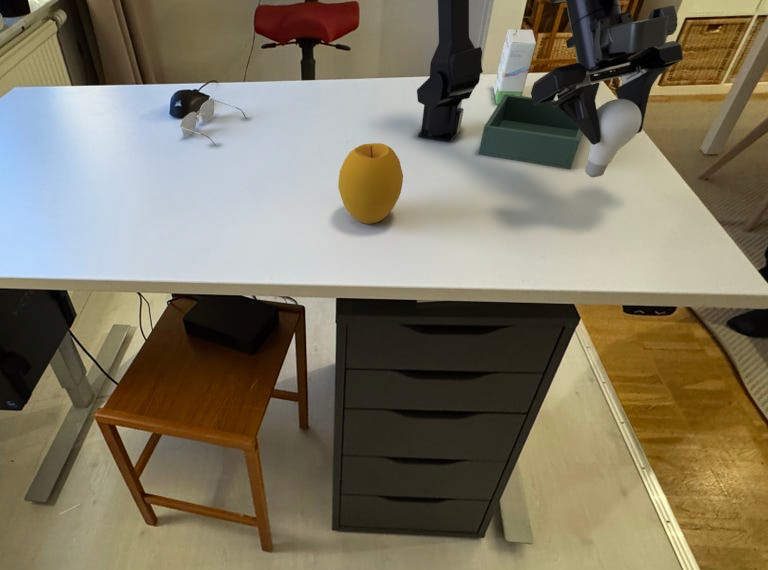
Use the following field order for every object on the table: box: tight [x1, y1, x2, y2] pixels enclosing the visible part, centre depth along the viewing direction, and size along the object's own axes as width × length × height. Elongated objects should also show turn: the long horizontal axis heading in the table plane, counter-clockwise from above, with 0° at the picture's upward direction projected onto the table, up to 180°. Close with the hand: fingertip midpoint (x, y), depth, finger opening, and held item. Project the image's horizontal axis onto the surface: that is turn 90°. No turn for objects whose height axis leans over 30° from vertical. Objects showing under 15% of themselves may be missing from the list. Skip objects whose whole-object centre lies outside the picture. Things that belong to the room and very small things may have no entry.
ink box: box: [493, 28, 537, 105], centre depth 111 cm, size 9×5×12 cm, turn 168°
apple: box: [337, 142, 404, 225], centre depth 82 cm, size 10×10×12 cm
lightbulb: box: [584, 98, 642, 179], centre depth 75 cm, size 6×6×11 cm
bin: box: [478, 94, 584, 170], centre depth 98 cm, size 16×16×5 cm
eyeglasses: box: [179, 98, 248, 146], centre depth 111 cm, size 14×8×4 cm, turn 155°
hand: (617, 138), depth 73 cm, fingers closed on lightbulb, 6 cm apart
